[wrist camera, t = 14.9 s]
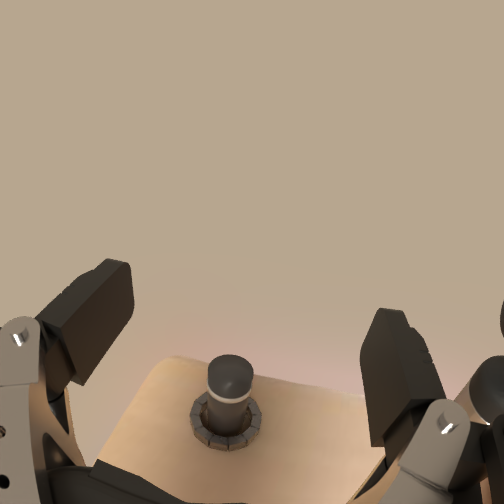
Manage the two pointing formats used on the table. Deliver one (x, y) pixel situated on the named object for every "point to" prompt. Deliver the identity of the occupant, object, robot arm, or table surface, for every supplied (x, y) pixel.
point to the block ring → (220, 441)
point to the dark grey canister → (228, 394)
